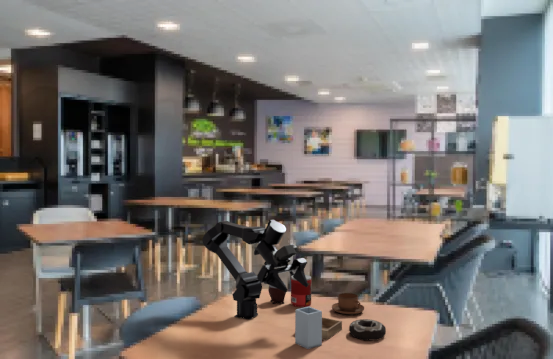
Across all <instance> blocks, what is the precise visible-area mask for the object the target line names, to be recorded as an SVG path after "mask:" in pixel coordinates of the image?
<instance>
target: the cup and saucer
mask: <svg viewBox="0 0 553 359" xmlns="http://www.w3.org/2000/svg"><path fill="white" fill-rule="evenodd" d="M337 301H338V302H337V303H333V304H332V305H331V308H332V309H333V311H334V312H335V313H338V314H341V315H357V314H360V313H363V312H364V310H365V306H364V305H363V304H361V302H360V301H359V295H358V294H355V293H351V292H350V293H349V292H341V293H339V294H338V295H337Z"/></svg>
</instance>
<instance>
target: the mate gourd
mask: <svg viewBox="0 0 553 359" xmlns="http://www.w3.org/2000/svg"><path fill="white" fill-rule="evenodd" d="M283 283H284V284H285V286H286V287H287V285H286V283H285V282H284V281H283ZM268 294H269V297H270V300H269V301H270V302H272V303H271V304H272V305H276V304H281V305H284V304H285V298H286V294H287V292H284V291H282V290H280V289H278V288H276V287H273V286H271V285H268Z"/></svg>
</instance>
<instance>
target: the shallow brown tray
mask: <svg viewBox="0 0 553 359" xmlns="http://www.w3.org/2000/svg"><path fill="white" fill-rule="evenodd" d="M342 330H343V321H342V320H339V319H333V318H328V317H323V316H322V340H325V341H328V340H330V339H331V338H332V337H334V336H336V334H338V333H339V332H341V331H342Z"/></svg>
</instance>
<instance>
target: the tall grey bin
mask: <svg viewBox="0 0 553 359" xmlns="http://www.w3.org/2000/svg"><path fill="white" fill-rule="evenodd" d="M294 317H295V318H294V319H295V322H294V323H295V325H294V326H295V327H294V329H295V332H294V339H295V340H294V343H295V344H296V345H298V346H300V347H302V348H304V349H307V350H310V349H313V348H318V347H320V346H322V344H323V342H322V341H323V339H322V317H323V311H322V310H320V309H317V308H314V307H311V306H308V307H299V308H297V309H295V316H294Z"/></svg>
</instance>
